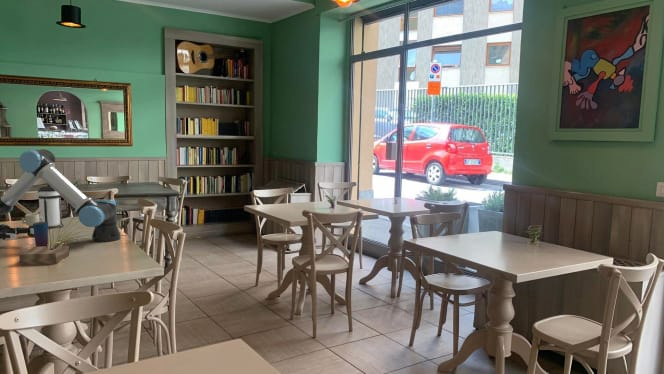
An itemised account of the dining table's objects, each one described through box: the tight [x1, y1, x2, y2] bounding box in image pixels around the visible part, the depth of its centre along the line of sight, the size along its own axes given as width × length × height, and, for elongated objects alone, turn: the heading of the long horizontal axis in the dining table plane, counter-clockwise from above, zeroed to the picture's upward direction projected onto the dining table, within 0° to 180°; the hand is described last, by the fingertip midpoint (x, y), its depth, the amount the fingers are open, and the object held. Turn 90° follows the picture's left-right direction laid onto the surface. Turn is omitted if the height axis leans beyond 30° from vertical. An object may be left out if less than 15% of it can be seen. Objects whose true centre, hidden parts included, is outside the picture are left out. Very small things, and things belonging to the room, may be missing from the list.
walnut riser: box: [18, 245, 70, 266], centre depth 245 cm, size 16×16×5 cm
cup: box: [33, 222, 49, 247], centre depth 262 cm, size 7×7×15 cm
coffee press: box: [35, 184, 72, 228], centre depth 327 cm, size 17×16×30 cm
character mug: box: [21, 213, 43, 237], centre depth 299 cm, size 11×7×13 cm, turn 118°
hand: (27, 234), depth 265 cm, fingers open, 13 cm apart
